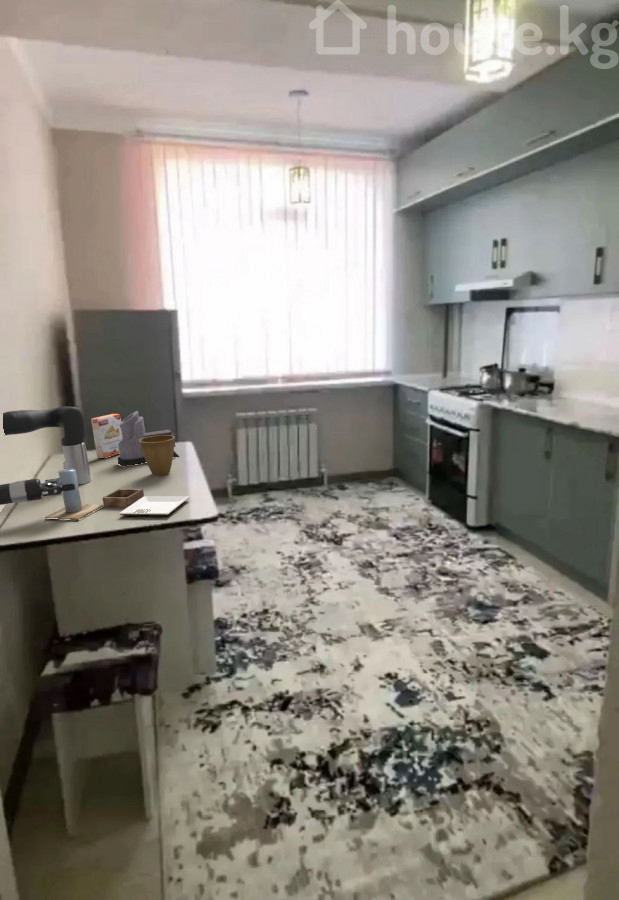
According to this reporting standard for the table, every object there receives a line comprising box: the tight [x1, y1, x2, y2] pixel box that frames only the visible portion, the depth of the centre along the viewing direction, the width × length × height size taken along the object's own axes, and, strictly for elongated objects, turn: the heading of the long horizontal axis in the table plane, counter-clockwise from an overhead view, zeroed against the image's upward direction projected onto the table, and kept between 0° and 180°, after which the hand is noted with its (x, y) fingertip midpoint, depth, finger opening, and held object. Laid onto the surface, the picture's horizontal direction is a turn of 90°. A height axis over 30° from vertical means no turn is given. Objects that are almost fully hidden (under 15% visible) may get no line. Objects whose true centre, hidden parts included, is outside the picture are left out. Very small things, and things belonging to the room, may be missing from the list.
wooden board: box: [44, 503, 104, 520], centre depth 207 cm, size 14×14×1 cm
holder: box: [102, 488, 145, 508], centre depth 215 cm, size 11×11×4 cm
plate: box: [118, 495, 190, 517], centre depth 205 cm, size 19×19×2 cm
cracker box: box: [90, 413, 122, 459], centre depth 292 cm, size 14×6×21 cm, turn 148°
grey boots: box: [117, 410, 180, 467], centre depth 278 cm, size 30×16×24 cm, turn 113°
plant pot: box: [139, 435, 175, 476], centre depth 251 cm, size 15×15×16 cm
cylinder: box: [58, 469, 82, 513], centre depth 205 cm, size 6×6×15 cm
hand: (75, 483), depth 205 cm, fingers open, 8 cm apart
